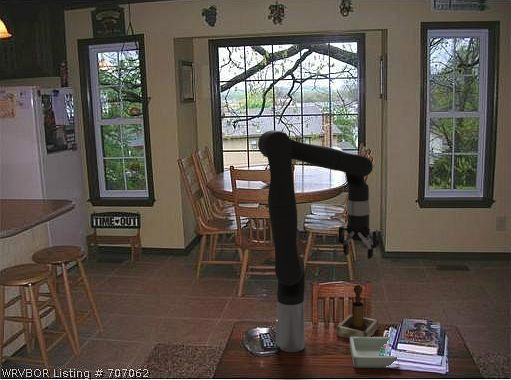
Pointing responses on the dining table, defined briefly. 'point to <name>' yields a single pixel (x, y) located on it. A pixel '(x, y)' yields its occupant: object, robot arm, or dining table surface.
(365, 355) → the tray
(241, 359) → the dining table surface
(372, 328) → the beige square dish
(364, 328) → the brown pepper mill
